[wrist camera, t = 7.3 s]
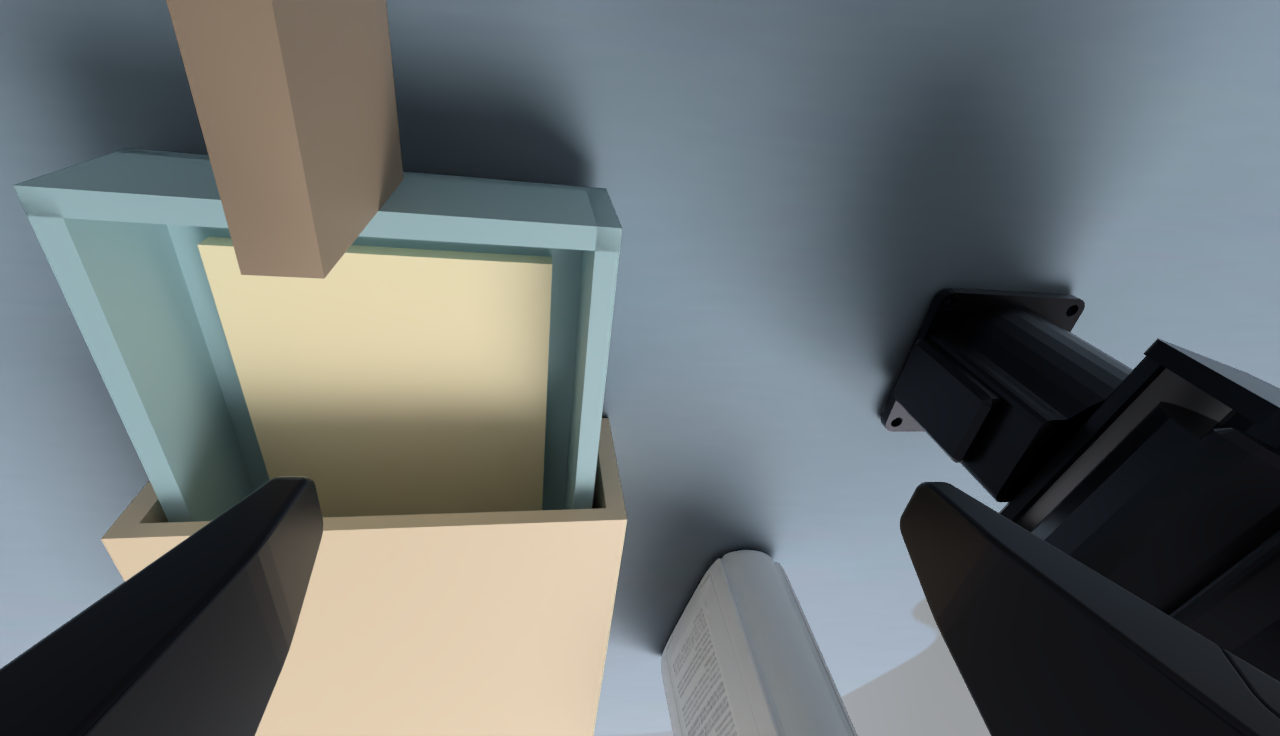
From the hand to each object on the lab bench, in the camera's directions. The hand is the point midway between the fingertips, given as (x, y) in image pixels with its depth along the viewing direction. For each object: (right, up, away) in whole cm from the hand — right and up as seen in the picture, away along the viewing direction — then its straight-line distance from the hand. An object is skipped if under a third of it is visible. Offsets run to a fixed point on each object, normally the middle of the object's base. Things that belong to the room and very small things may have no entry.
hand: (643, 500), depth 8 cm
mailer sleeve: (-9, -6, +16) cm, 19 cm away
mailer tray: (-8, +3, +9) cm, 12 cm away
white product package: (+4, -11, +22) cm, 25 cm away
